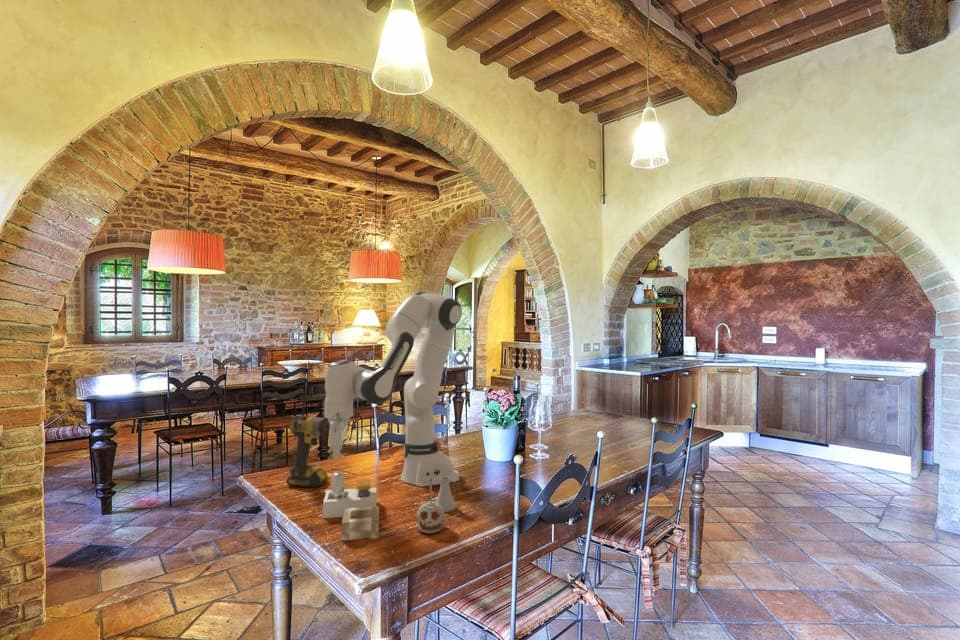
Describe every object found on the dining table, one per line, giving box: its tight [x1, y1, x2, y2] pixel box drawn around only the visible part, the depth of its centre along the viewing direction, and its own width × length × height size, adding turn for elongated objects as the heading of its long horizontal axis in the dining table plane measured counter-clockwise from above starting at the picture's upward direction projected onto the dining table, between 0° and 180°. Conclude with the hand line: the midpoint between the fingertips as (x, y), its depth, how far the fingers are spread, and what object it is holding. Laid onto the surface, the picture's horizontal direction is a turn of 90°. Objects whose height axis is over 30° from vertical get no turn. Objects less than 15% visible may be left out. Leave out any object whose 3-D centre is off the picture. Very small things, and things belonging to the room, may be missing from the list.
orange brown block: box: [355, 478, 372, 497], centre depth 153 cm, size 4×6×7 cm
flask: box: [435, 476, 457, 513], centre depth 154 cm, size 7×7×10 cm
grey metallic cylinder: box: [331, 471, 346, 499], centre depth 151 cm, size 4×4×12 cm
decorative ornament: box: [416, 478, 445, 534], centre depth 139 cm, size 8×8×15 cm
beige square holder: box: [341, 505, 380, 541], centre depth 137 cm, size 10×10×5 cm
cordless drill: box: [286, 414, 330, 488], centre depth 174 cm, size 9×20×25 cm, turn 78°
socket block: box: [322, 486, 378, 519], centre depth 152 cm, size 16×10×5 cm, turn 101°
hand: (337, 454), depth 151 cm, fingers open, 8 cm apart
